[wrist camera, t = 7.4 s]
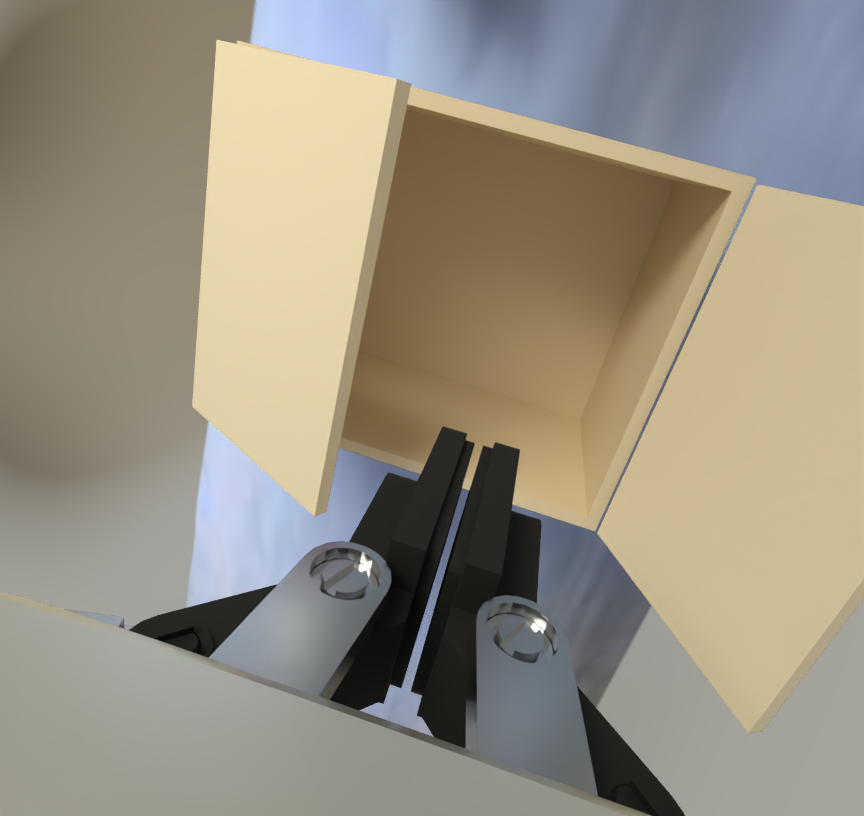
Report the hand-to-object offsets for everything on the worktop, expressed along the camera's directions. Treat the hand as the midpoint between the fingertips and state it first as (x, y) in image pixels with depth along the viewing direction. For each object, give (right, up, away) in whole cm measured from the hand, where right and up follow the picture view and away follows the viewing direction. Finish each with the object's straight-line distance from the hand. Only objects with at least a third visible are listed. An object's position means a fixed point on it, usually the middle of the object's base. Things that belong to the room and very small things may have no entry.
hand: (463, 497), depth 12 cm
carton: (+2, +11, +23) cm, 26 cm away
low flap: (-7, +7, +11) cm, 14 cm away
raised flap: (+10, +1, +7) cm, 12 cm away
